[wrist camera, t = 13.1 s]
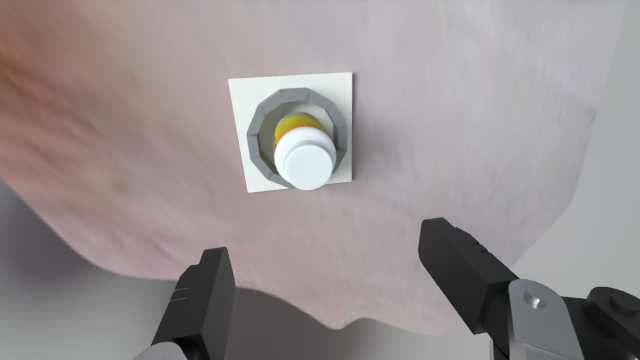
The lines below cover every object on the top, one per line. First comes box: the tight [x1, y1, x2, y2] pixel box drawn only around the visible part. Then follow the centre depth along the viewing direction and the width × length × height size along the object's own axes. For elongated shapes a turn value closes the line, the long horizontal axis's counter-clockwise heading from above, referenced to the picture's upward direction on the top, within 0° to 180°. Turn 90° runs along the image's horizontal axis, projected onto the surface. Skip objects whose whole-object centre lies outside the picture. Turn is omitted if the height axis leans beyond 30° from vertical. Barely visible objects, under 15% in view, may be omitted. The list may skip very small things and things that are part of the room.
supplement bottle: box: [274, 112, 336, 190], centre depth 26 cm, size 6×6×10 cm
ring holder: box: [228, 72, 352, 193], centre depth 30 cm, size 13×13×4 cm
